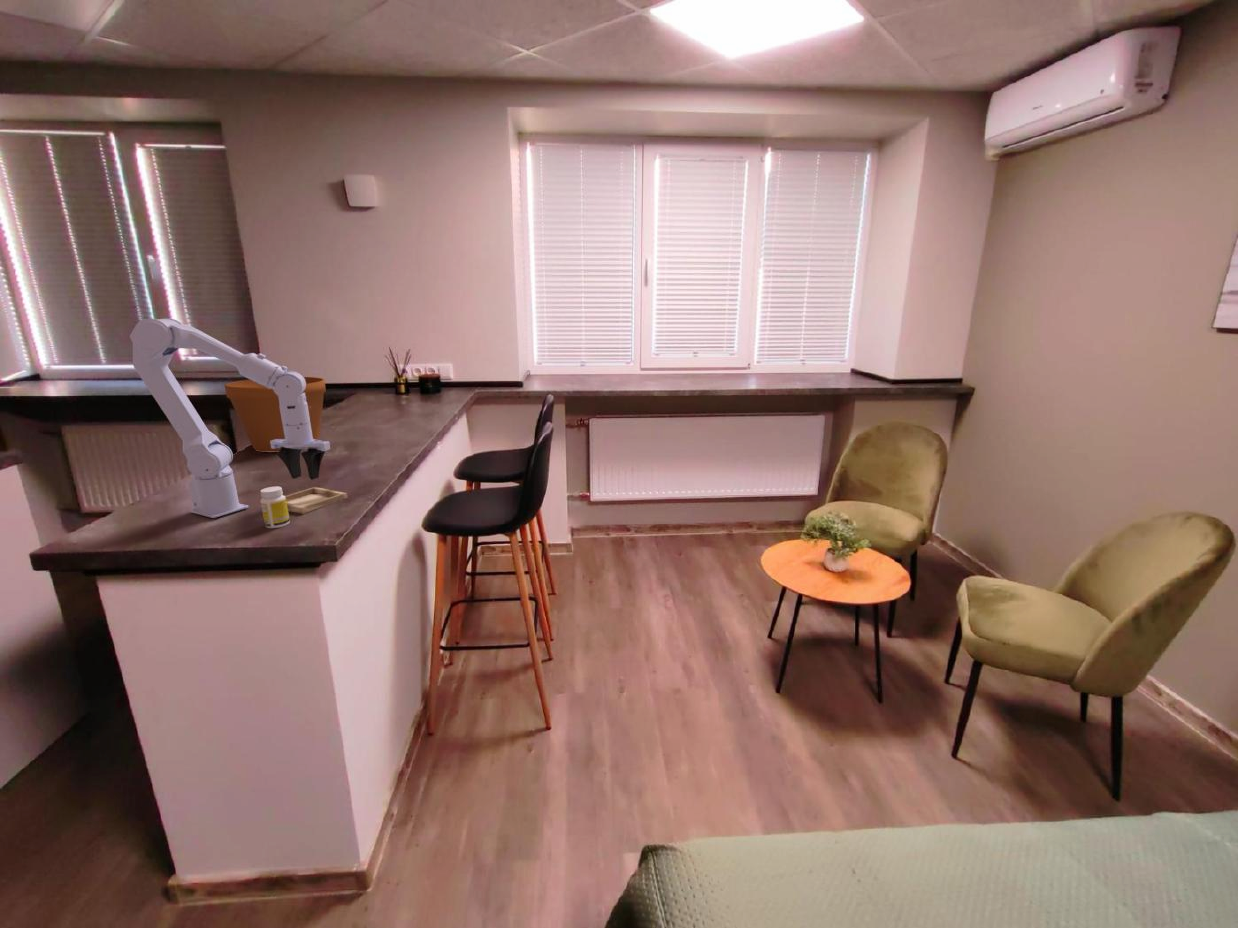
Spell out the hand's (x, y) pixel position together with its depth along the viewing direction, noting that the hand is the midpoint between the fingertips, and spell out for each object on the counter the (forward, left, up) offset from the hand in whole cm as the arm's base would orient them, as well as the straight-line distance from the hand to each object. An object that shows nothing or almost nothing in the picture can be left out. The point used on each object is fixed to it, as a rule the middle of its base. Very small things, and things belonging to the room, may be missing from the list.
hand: (305, 477), depth 131 cm
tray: (0, 0, -7) cm, 7 cm away
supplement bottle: (+6, -12, -7) cm, 15 cm away
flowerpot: (-55, +32, -7) cm, 64 cm away
